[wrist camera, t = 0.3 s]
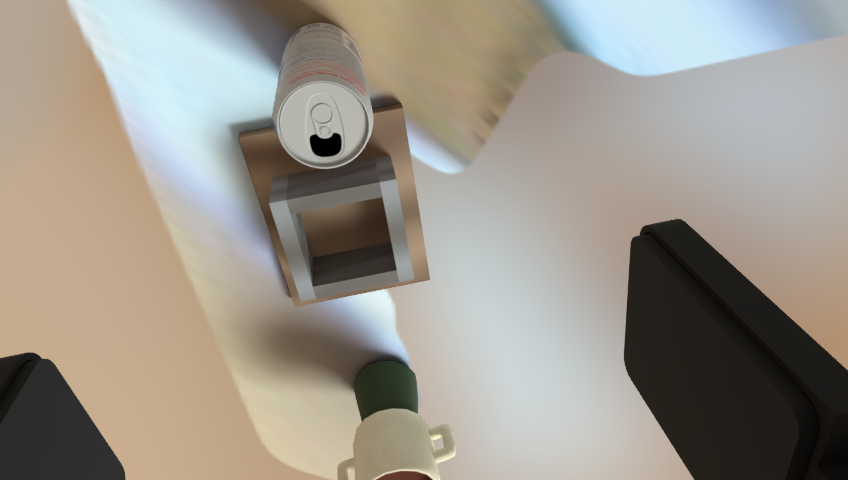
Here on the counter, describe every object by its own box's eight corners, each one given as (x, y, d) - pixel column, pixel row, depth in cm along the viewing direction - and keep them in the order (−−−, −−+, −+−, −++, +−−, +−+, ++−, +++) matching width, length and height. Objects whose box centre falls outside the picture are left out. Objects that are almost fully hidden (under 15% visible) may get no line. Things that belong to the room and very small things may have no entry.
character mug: (349, 417, 60) (356, 537, 50) (319, 375, 56) (320, 495, 46) (446, 381, 60) (474, 495, 49) (422, 335, 56) (448, 448, 45)
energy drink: (288, 101, 41) (279, 176, 31) (277, 23, 38) (263, 78, 28) (363, 96, 42) (377, 168, 32) (357, 19, 39) (371, 72, 29)
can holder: (239, 132, 42) (231, 162, 38) (401, 103, 43) (410, 128, 39) (295, 299, 51) (293, 338, 47) (428, 273, 52) (437, 308, 47)
